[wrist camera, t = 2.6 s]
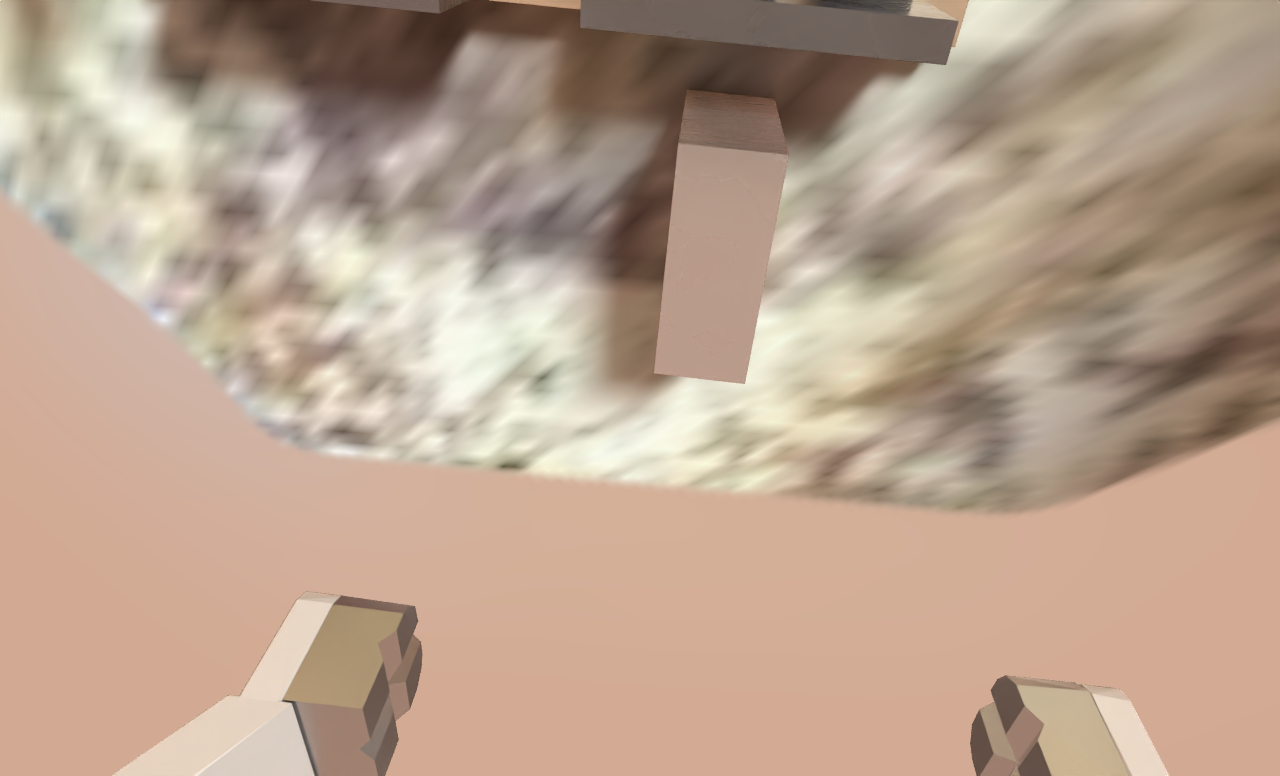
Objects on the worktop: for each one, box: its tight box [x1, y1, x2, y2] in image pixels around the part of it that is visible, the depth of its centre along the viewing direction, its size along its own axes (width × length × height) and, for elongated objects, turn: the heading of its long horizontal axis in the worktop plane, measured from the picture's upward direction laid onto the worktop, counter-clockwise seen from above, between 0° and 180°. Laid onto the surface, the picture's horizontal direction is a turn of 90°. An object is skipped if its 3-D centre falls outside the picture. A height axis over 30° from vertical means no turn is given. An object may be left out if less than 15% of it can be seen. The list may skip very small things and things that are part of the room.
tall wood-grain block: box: [654, 90, 789, 384], centre depth 23 cm, size 3×7×6 cm, turn 176°
